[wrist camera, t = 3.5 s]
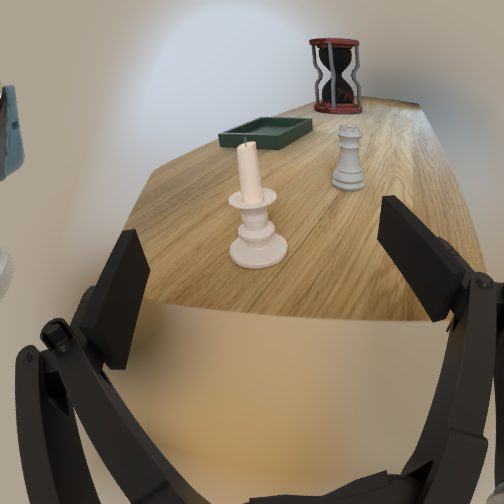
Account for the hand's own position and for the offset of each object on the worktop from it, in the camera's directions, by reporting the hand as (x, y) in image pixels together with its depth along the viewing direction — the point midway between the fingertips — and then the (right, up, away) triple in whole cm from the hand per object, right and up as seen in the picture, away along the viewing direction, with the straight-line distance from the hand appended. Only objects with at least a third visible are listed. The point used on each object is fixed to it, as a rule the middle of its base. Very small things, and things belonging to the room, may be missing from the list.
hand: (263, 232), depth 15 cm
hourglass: (+28, +46, +72) cm, 90 cm away
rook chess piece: (+12, +8, +22) cm, 26 cm away
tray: (+3, +24, +46) cm, 52 cm away
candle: (0, -1, +12) cm, 12 cm away
